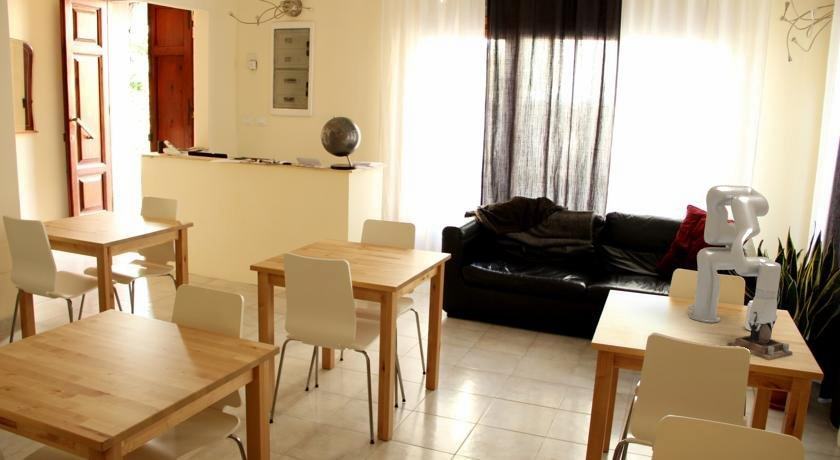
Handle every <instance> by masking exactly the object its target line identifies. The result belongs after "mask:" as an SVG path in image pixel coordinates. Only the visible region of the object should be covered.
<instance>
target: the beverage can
mask: <svg viewBox="0 0 840 460" xmlns="http://www.w3.org/2000/svg"><path fill="white" fill-rule="evenodd" d="M752 302H753V300H749V302H748V303H747V307H746V308H747V309H746V315H745V316H746V317H745V324H744V328H745V329H746V330H747V331H749V332H751V329H750V326H749V323H748V321H749V316H750V311H751V306H752ZM756 322H758V321H756ZM755 325H756V324H755Z"/></svg>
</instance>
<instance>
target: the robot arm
mask: <svg viewBox="0 0 840 460" xmlns="http://www.w3.org/2000/svg"><path fill="white" fill-rule="evenodd" d="M705 201H706V202H705V203H706V204H705V205H706V217H705V224H704V225H705V227H704V231H703V232H704V234H703V239H704V242H705V243H707V244H708V245H712V246H725V247H711V246H710V247H704V248H702V249H700V250H699V251H698V252H697V255H696V261H697V262H696V263H697V277H696V286H695V287H696V288H695V295H694V302H693V303H694V304H689V305H688V306H687V310H691V312H689V314H688V315H689V316H688V317H689V318H690V319H692V320H695V321H697V322H703V323H710V324H711V323H719V322H720V321H721V317H720V316H719V315H718V307H719V299H720V291H721V282H722V281H721V277H720V275H719V273H718V271H720V270H722V271H725V270H727V271H729V270H730V271H731V270H734V271H735V273H736V274H738V275H739V276H741V277H757V279H756V287H755V293H754V294H755V295H754V296H753V302H752V306H751V311H750V316H749V321H748V323H749V326H750V329H751V331H750V334H749V335H750V339H752V340H755V341H758V339H759V331H758V330H759V328H760V325H761V324H766V323H767V325H768V327H769V328H770V330H771V335H772V333H773V329H774V325H775V323H776V321H777V320H778V318H779V317H778V315H777V309H778V294H779V286H780V279H781V272H782V271H781V270H782V265H781V264H780V263H778V262H776V261H773V260H772V259H770V258H769V257H766V256H746V255H745V253H744V243H745V242H746V241H747V240H749V239H753V238H754V237H756V236H758V235H759V234H760V233H761V227H760V223H759V220H758V217H765V216H766V215H767V214H768V212H769V210H770V205H769V202H768V200H767V198H766V197H765V196H764V195H763V194H761V193H760V192H758V191H757V190H756V189H755V188H752V187H751V186H747V185H729V184H728V185H727V184H725V185H724V184H723V185H722V184H721V185H715V186H711V188H709V190H708V191H707V194H706V196H705ZM726 206H727V207H728V206H729V207H730V209H731V213H732V217H733V222H728V219H729V211H728V209H727V207H726ZM756 321H758V322H756ZM755 324H758V325H757V327H756V325H755Z"/></svg>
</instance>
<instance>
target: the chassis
mask: <svg viewBox="0 0 840 460" xmlns="http://www.w3.org/2000/svg"><path fill="white" fill-rule="evenodd" d="M726 345H727V346H729V345H730V346H729V347H731V346H740V347H745V348H747V349H749V350H750V352H751V353H750V354H751V355H754V356H756V357H759V358H762V359H765V360H768V361H771V360H776V359H779V358H785V357H789V356H792V355H793V353H794V352H793V351H791V350H789V348H790V344H789V343H787V342H781V341H778V340H775V339H773V338H770V341H769V342H768V343H767V344H765V345H759V344H756V343H754V342H753V340H752V339H750V334H749V335H745V336H739V337H736V338H735V340H731V341H727V344H726Z"/></svg>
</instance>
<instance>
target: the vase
mask: <svg viewBox="0 0 840 460" xmlns="http://www.w3.org/2000/svg"><path fill="white" fill-rule="evenodd" d="M757 325H758V324H756V327H757ZM758 331H759V339H758V341H755V340H753V342H754V343H756V344H759V345H765V344H767V343H768V342H769V341H770V339H772V334H771V330H770V328H769V327H768V325H767V323H766V324H761V325H760V328H759V330H758Z"/></svg>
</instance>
